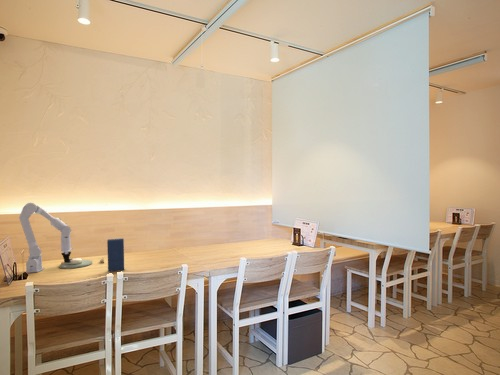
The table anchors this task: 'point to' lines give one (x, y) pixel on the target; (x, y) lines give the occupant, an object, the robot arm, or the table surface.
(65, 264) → the dial board
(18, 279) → the table surface
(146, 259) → the table surface
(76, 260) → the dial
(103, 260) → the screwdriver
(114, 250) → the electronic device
